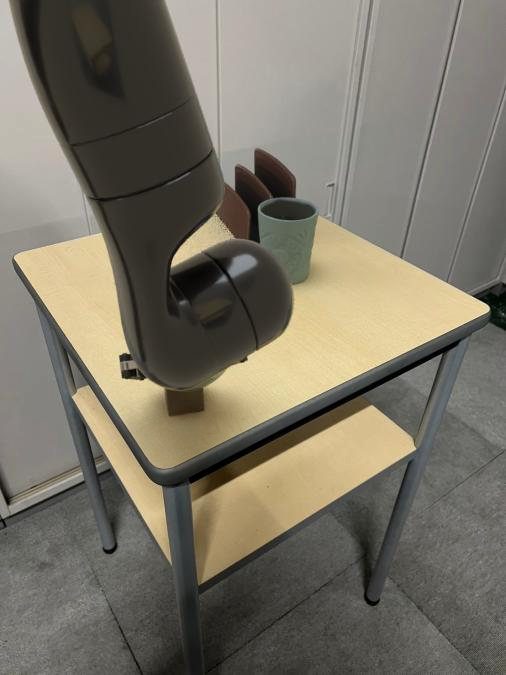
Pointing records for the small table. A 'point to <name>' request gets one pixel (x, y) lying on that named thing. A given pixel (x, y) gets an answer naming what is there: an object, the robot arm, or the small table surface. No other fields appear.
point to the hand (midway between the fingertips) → (180, 367)
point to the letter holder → (254, 194)
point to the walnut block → (184, 401)
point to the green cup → (289, 233)
